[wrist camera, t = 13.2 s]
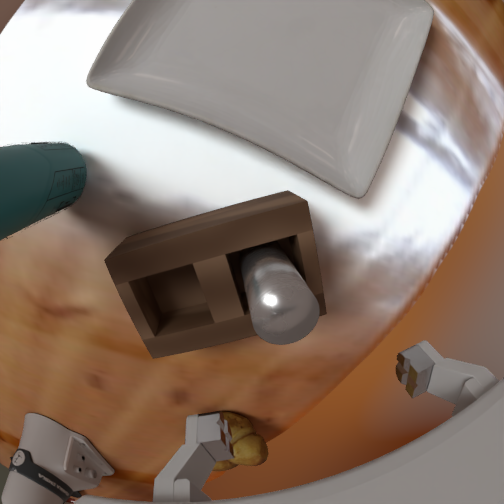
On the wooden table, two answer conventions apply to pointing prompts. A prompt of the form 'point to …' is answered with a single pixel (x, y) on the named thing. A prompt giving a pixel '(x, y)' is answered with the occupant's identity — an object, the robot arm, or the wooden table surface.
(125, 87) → the square plate
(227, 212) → the socket block
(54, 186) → the beverage bottle
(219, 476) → the wooden table surface
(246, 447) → the bread roll
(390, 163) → the wooden table surface
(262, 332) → the steel pin
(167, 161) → the wooden table surface
